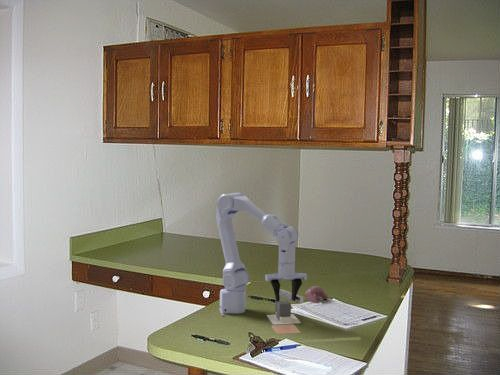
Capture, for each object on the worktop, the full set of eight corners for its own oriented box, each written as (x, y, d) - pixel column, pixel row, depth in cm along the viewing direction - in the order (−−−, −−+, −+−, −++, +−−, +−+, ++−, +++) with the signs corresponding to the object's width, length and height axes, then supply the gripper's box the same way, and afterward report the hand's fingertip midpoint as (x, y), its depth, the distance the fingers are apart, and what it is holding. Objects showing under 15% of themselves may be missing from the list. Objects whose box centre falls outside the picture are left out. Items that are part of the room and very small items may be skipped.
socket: (273, 326, 177) (273, 306, 176) (263, 313, 191) (264, 294, 190) (301, 325, 179) (301, 304, 178) (289, 312, 193) (290, 293, 192)
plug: (279, 321, 180) (279, 304, 180) (276, 317, 184) (276, 300, 184) (290, 320, 181) (290, 303, 181) (287, 316, 185) (287, 300, 185)
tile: (276, 336, 168) (277, 333, 168) (270, 327, 176) (271, 325, 176) (300, 335, 170) (300, 332, 169) (293, 326, 177) (293, 324, 177)
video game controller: (321, 302, 212) (314, 285, 214) (329, 299, 209) (323, 282, 211) (307, 307, 204) (301, 290, 206) (316, 304, 202) (310, 287, 203)
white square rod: (299, 303, 179) (299, 297, 179) (273, 293, 191) (273, 288, 191) (304, 302, 181) (304, 296, 181) (278, 292, 192) (278, 287, 192)
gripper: (269, 265, 174) (268, 304, 175) (310, 264, 177) (309, 303, 178) (264, 260, 181) (263, 298, 182) (303, 259, 184) (302, 297, 185)
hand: (285, 300), depth 180 cm, fingers open, 5 cm apart
